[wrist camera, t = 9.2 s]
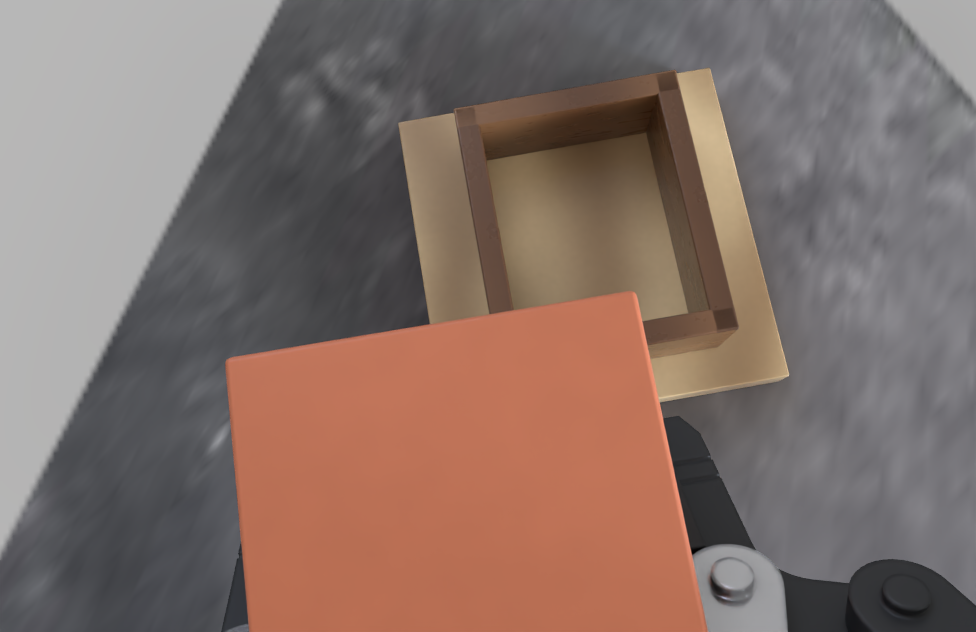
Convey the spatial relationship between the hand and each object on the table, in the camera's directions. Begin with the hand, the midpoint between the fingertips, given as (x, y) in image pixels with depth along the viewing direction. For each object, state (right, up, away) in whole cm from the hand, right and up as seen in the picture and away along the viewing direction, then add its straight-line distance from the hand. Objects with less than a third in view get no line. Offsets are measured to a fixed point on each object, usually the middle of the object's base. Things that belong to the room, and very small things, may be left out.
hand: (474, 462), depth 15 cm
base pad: (+4, +5, +17) cm, 18 cm away
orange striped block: (+1, -3, +4) cm, 5 cm away
